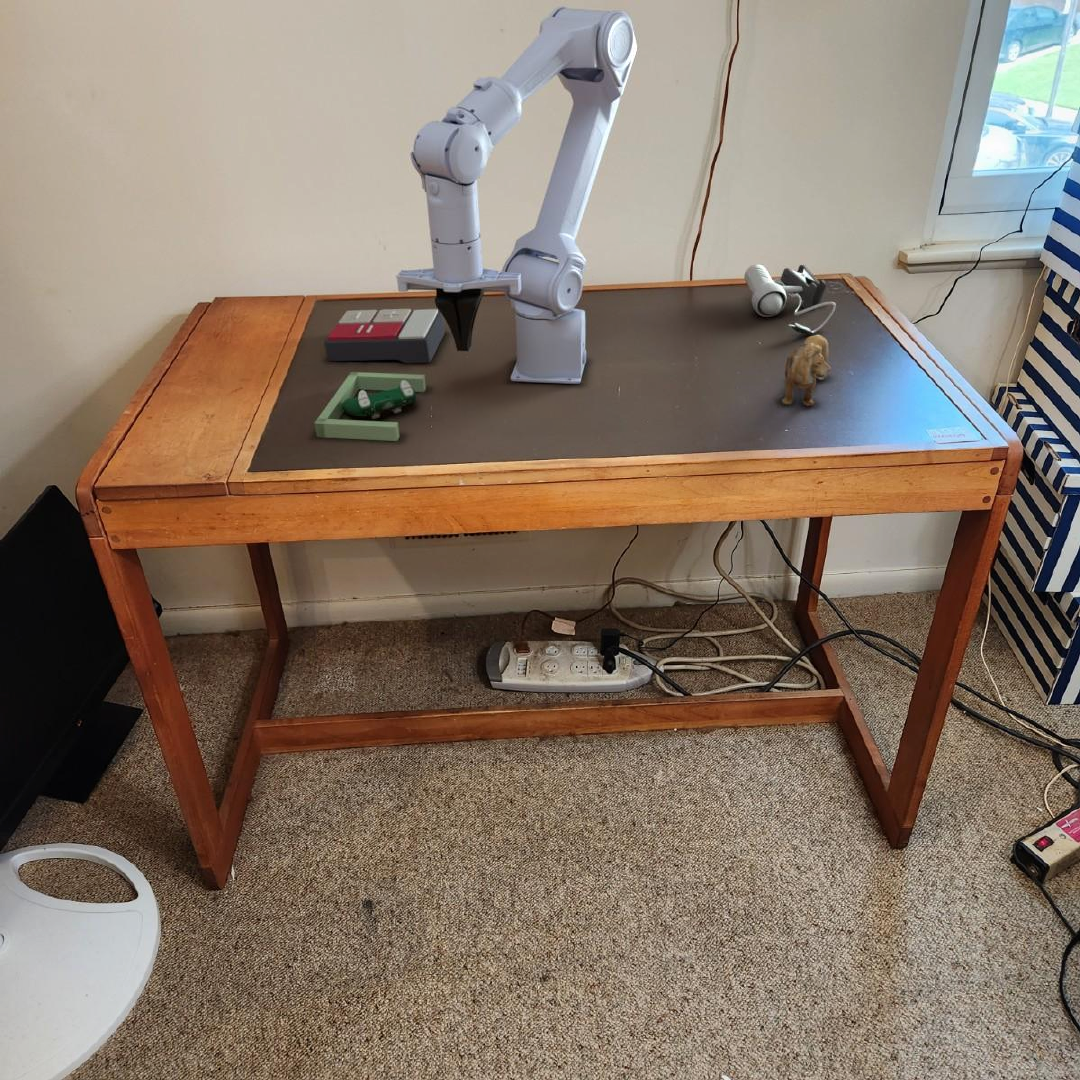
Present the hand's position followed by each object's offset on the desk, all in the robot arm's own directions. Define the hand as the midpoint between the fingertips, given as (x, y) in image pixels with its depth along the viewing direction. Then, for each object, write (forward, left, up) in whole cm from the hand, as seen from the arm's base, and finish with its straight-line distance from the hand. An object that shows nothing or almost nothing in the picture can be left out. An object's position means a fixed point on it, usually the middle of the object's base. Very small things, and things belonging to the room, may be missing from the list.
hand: (464, 347), depth 110 cm
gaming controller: (+11, +2, -9) cm, 14 cm away
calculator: (+16, -18, -9) cm, 26 cm away
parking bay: (+12, +2, -8) cm, 14 cm away
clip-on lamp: (-43, -35, -9) cm, 56 cm away
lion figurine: (-43, -8, -9) cm, 45 cm away
